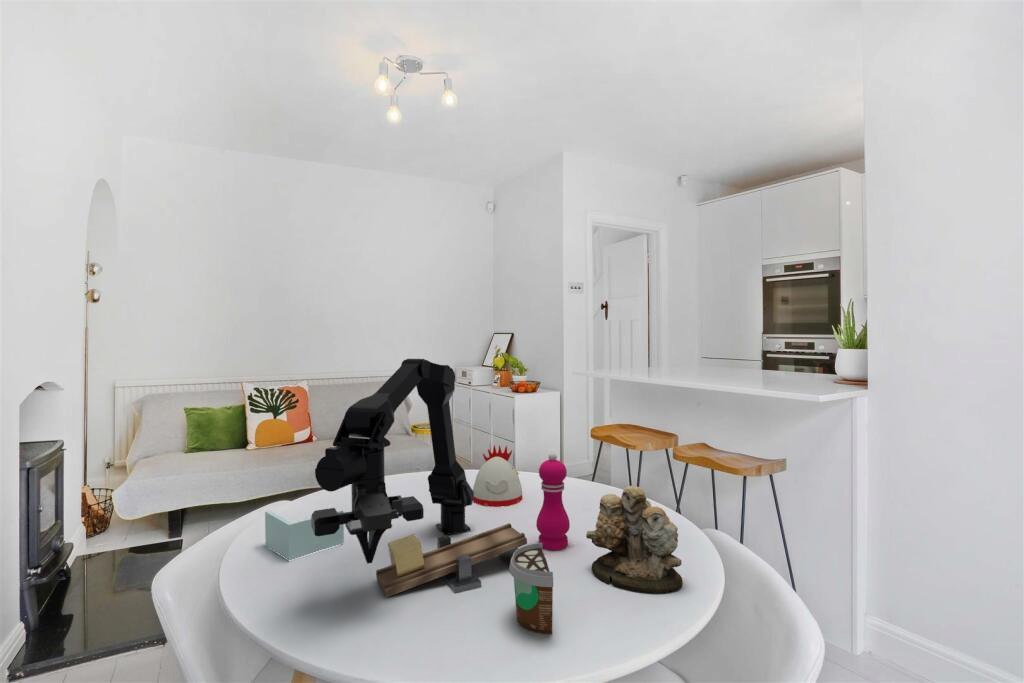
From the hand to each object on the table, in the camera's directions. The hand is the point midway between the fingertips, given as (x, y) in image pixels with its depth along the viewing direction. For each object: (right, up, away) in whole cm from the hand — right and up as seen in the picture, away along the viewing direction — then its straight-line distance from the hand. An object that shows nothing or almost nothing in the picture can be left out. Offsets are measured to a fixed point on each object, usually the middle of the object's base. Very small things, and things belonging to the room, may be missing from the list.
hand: (369, 562), depth 95 cm
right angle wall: (-20, -5, +22) cm, 30 cm away
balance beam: (+14, -2, +7) cm, 16 cm away
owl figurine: (+48, -5, +5) cm, 49 cm away
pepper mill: (+34, -5, +21) cm, 40 cm away
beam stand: (+19, -5, +10) cm, 22 cm away
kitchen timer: (+21, -5, +53) cm, 58 cm away
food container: (+28, -5, -9) cm, 30 cm away
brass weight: (+6, -3, +3) cm, 8 cm away
